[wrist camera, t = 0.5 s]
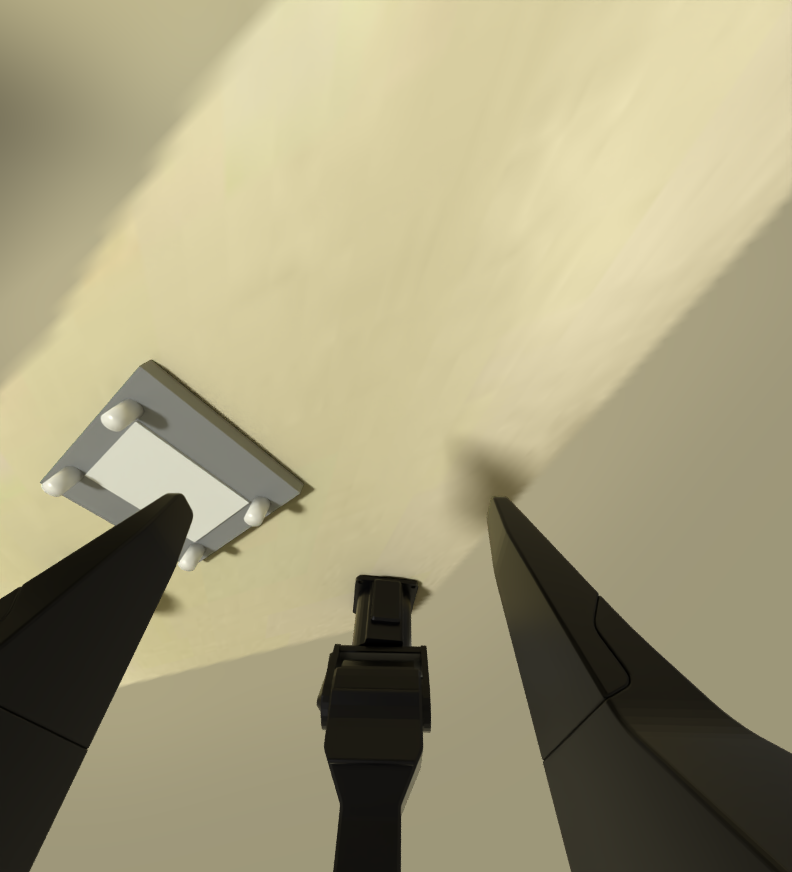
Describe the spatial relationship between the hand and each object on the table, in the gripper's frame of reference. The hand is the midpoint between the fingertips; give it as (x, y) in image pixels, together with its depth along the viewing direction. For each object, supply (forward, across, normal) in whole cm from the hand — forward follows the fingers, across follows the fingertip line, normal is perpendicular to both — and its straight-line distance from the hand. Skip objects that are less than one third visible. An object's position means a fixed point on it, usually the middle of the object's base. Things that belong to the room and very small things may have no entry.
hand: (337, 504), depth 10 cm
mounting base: (+14, +17, +12) cm, 25 cm away
